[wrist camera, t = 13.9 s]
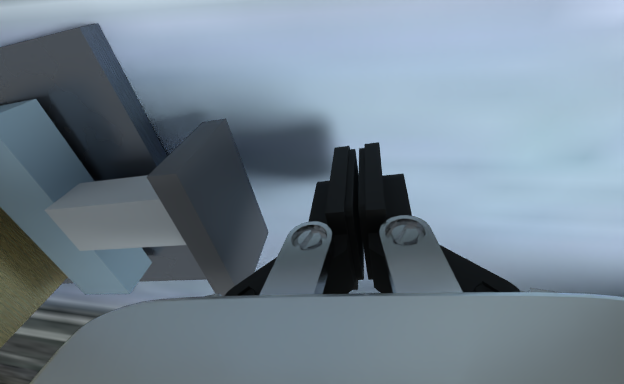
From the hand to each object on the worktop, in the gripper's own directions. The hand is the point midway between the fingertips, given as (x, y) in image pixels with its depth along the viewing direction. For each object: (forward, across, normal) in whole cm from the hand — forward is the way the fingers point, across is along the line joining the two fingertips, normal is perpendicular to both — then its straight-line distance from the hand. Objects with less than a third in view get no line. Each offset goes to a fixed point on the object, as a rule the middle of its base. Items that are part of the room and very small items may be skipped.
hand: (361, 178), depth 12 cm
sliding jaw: (+1, +10, 0) cm, 10 cm away
